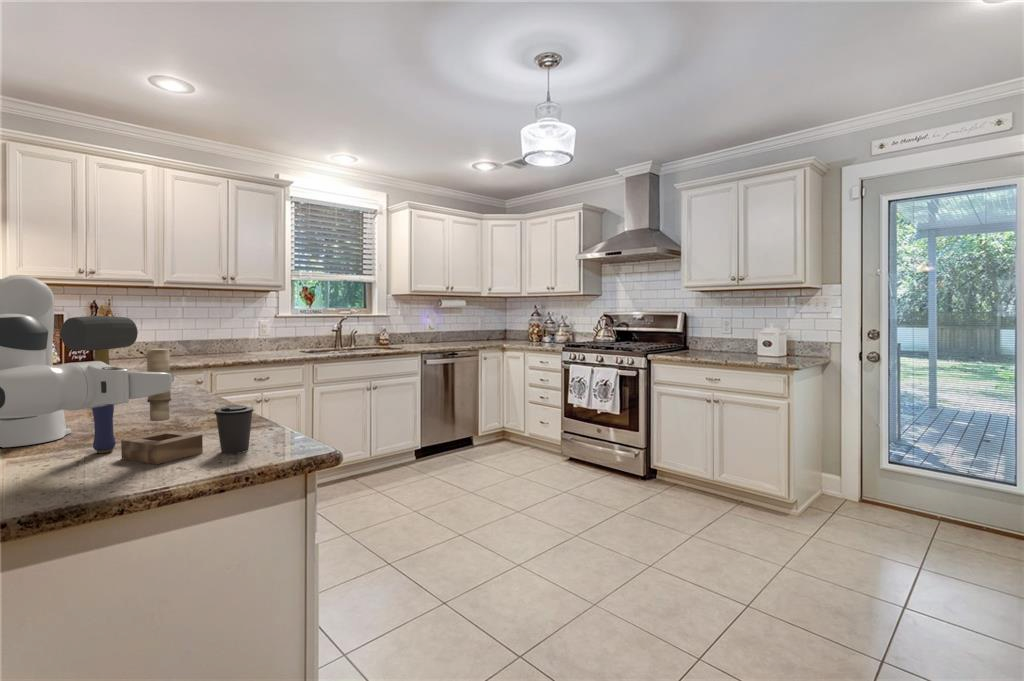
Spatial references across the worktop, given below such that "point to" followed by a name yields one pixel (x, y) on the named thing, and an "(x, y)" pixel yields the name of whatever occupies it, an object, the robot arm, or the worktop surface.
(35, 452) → the worktop surface
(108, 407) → the rubber mallet
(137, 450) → the walnut socket board
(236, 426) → the coffee cup
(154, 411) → the beech peg
